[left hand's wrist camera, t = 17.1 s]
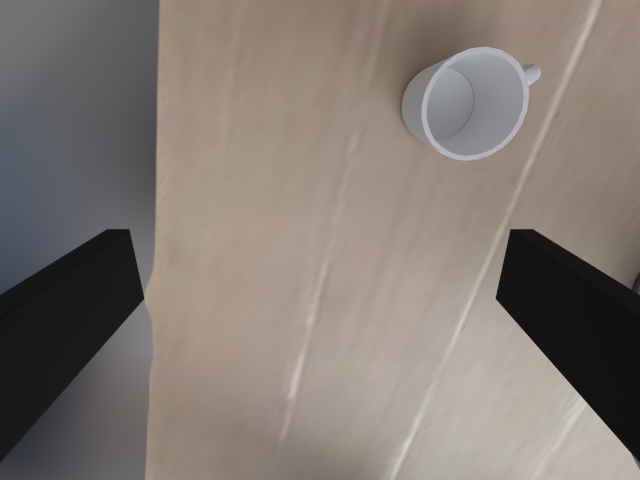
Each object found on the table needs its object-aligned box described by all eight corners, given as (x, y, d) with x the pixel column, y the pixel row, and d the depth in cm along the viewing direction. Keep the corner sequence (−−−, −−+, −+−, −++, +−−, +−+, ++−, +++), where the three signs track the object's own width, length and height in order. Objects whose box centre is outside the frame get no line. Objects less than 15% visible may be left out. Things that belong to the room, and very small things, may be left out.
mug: (414, 159, 41) (442, 178, 32) (383, 86, 38) (404, 82, 29) (505, 113, 39) (565, 118, 30) (481, 32, 36) (538, 9, 27)
